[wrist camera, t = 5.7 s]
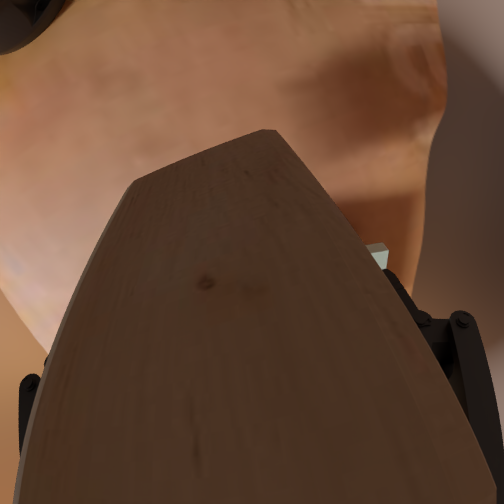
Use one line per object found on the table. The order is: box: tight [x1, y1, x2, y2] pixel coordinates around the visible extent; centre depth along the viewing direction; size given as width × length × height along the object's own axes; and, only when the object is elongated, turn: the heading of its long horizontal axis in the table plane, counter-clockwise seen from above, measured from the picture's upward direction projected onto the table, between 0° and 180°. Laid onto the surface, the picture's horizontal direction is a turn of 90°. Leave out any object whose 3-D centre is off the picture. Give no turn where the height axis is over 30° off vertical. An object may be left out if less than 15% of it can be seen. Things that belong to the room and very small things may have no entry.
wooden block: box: [13, 129, 497, 504], centre depth 13 cm, size 10×10×20 cm
